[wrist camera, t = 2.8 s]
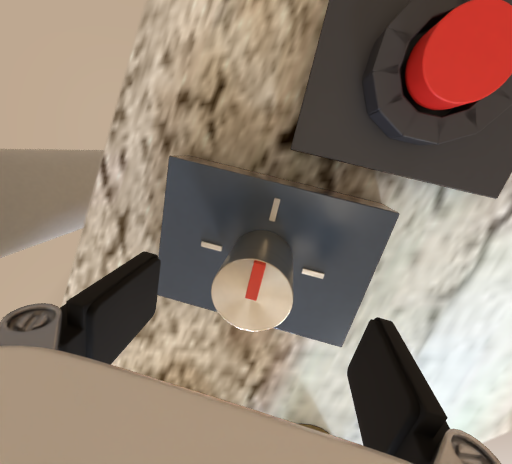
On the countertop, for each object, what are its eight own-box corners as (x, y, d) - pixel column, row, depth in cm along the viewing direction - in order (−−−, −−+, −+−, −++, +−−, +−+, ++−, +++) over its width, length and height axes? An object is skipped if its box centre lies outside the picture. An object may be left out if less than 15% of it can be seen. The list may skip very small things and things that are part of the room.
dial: (283, 293, 17) (280, 345, 12) (226, 277, 17) (203, 323, 12) (300, 239, 15) (304, 275, 11) (238, 222, 16) (216, 251, 11)
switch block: (290, 149, 17) (290, 148, 13) (339, -39, 14) (358, -113, 10) (470, 193, 16) (525, 205, 12) (567, 5, 13) (682, -56, 9)
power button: (391, 101, 12) (407, 93, 10) (424, 12, 11) (448, -13, 9) (466, 118, 12) (494, 112, 10) (508, 29, 11) (547, 7, 9)
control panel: (172, 275, 21) (152, 295, 18) (188, 155, 18) (167, 155, 15) (334, 320, 20) (342, 349, 17) (382, 203, 17) (401, 214, 14)
